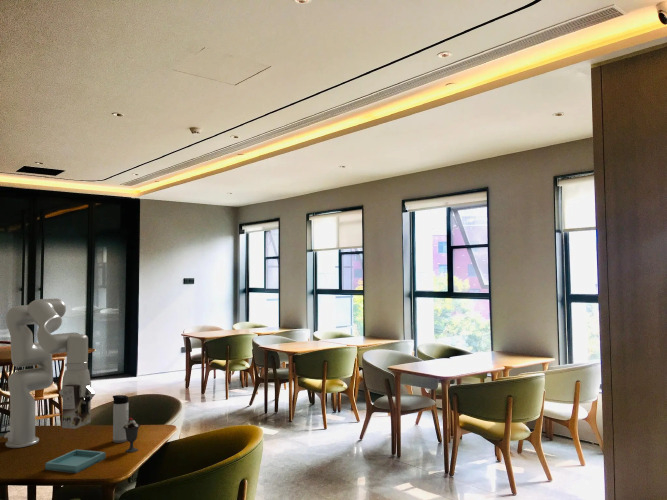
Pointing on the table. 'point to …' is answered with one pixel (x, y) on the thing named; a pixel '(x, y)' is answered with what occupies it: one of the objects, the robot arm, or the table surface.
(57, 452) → the table surface
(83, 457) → the tray
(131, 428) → the sundae
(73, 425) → the coffee box
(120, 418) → the travel mug
